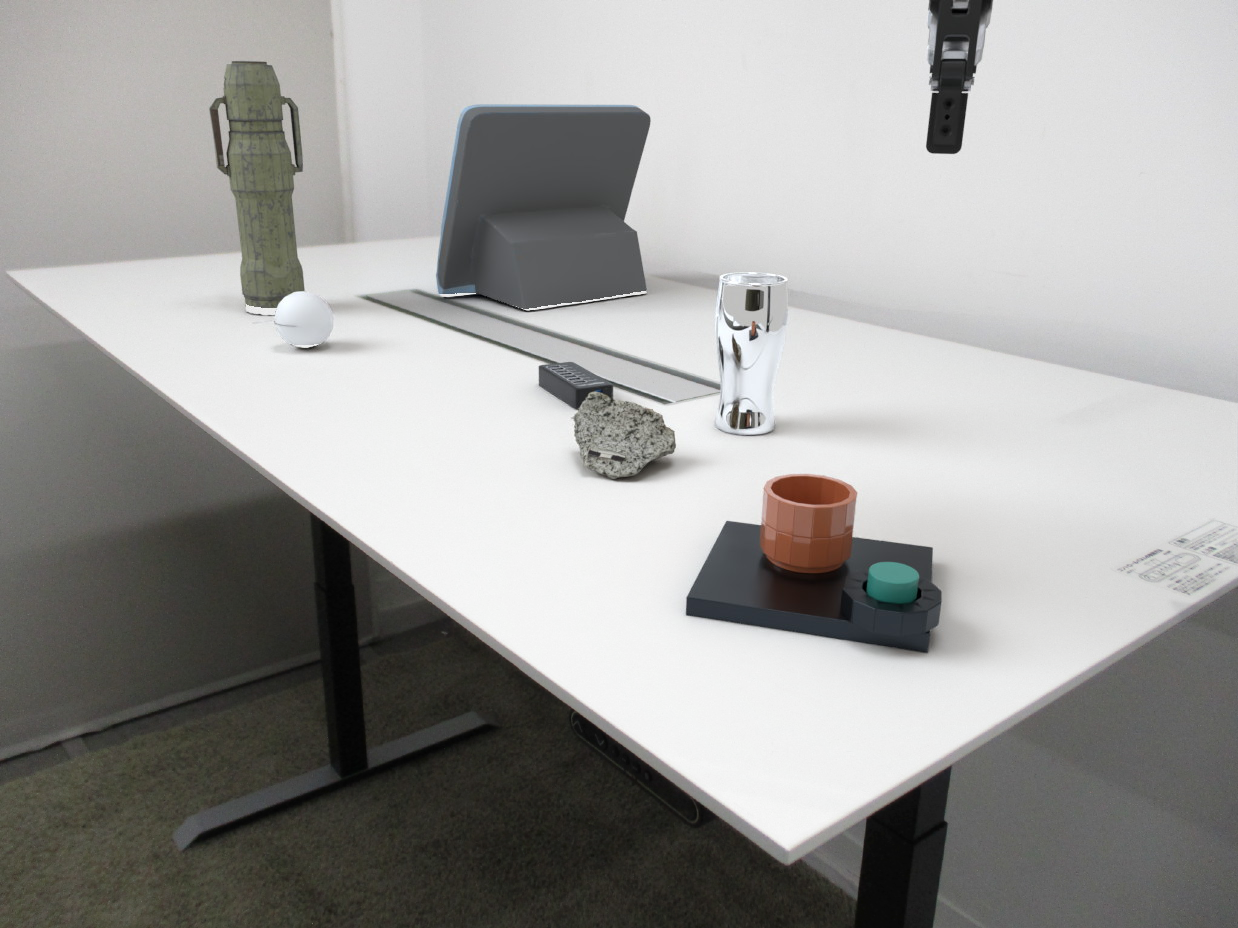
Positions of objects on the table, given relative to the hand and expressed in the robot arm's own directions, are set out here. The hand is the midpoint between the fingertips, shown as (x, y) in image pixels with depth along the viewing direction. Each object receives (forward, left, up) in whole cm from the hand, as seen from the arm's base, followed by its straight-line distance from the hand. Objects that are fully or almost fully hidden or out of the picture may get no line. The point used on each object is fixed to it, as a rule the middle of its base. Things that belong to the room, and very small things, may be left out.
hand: (943, 150), depth 69 cm
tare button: (0, +18, -26) cm, 31 cm away
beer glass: (+16, -21, -28) cm, 39 cm away
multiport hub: (+36, -26, -28) cm, 53 cm away
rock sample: (+24, -6, -28) cm, 38 cm away
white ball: (+77, -34, -28) cm, 89 cm away
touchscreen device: (+59, -81, -28) cm, 104 cm away
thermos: (+94, -54, -28) cm, 112 cm away
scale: (+5, +13, -28) cm, 31 cm away
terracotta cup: (+6, +11, -27) cm, 29 cm away
